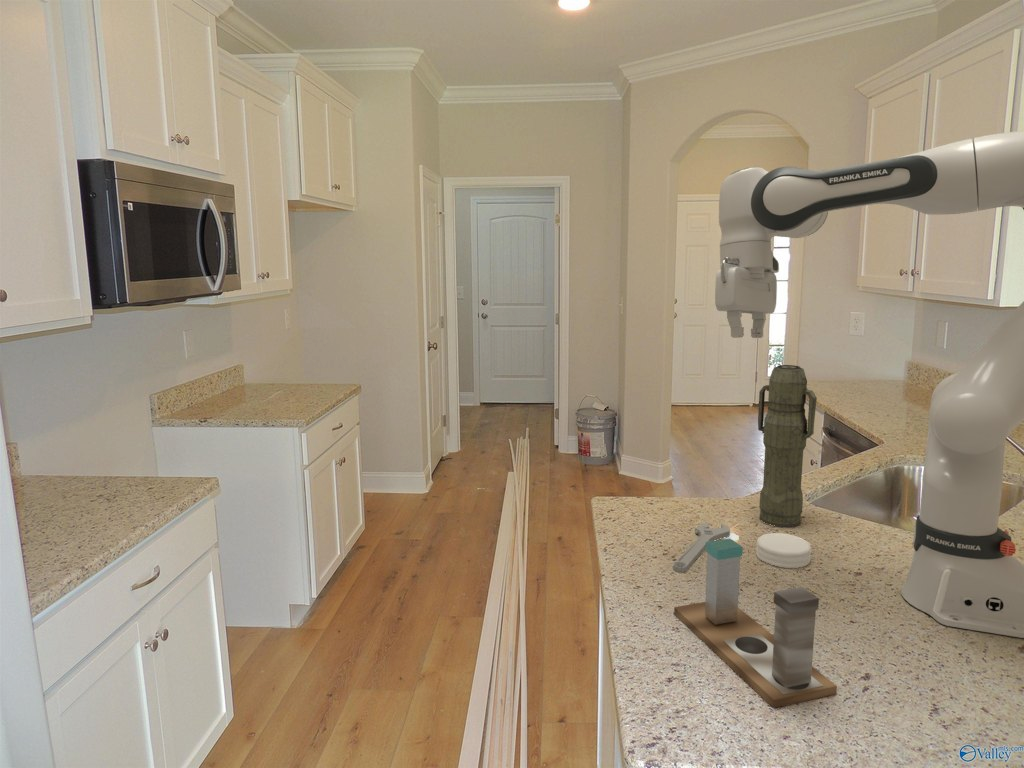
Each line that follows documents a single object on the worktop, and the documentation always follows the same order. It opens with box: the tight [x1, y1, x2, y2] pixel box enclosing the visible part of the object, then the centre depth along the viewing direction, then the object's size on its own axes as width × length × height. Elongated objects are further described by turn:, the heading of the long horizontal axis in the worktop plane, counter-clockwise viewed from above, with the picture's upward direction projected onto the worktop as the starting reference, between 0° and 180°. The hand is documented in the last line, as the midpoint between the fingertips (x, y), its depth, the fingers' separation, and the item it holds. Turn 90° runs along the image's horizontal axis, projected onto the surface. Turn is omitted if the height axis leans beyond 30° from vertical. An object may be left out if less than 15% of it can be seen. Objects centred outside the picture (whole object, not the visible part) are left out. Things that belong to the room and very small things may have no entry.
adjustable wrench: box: [672, 522, 730, 573], centre depth 143 cm, size 25×6×2 cm, turn 142°
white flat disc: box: [755, 532, 812, 569], centre depth 137 cm, size 10×10×4 cm
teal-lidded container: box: [704, 538, 744, 625], centre depth 111 cm, size 3×4×13 cm
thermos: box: [757, 364, 817, 528], centre depth 153 cm, size 9×12×35 cm
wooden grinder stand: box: [673, 586, 838, 709], centre depth 104 cm, size 26×10×14 cm, turn 17°
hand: (747, 337), depth 126 cm, fingers open, 8 cm apart
